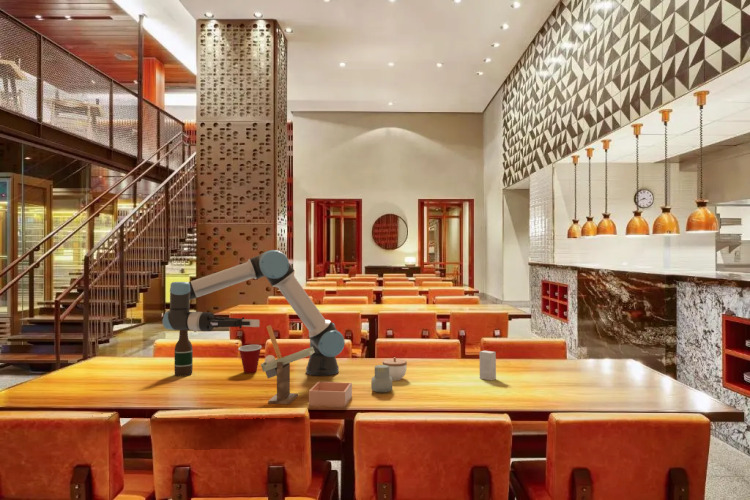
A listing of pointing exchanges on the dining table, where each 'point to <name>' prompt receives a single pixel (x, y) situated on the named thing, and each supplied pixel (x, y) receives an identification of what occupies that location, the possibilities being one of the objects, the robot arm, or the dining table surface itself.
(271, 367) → the lever
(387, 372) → the air freshener
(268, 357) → the ball
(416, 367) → the dining table surface
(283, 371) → the stand
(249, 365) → the plastic cup
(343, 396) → the pink open box
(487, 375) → the skincare box
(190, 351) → the beer bottle
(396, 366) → the lidded jar
